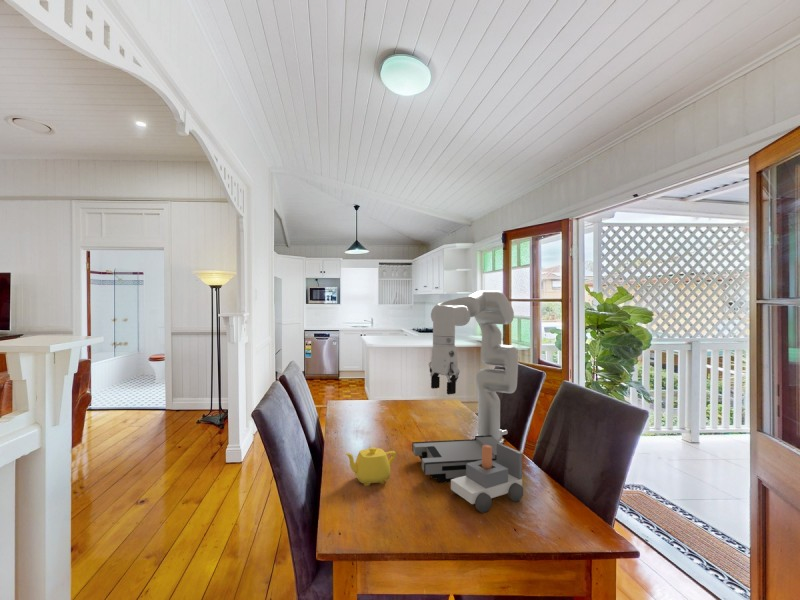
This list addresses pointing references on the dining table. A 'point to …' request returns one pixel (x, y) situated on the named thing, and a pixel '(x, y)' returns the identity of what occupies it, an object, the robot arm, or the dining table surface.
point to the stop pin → (487, 457)
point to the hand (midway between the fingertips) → (442, 390)
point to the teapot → (372, 465)
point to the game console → (451, 456)
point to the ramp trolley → (491, 479)
